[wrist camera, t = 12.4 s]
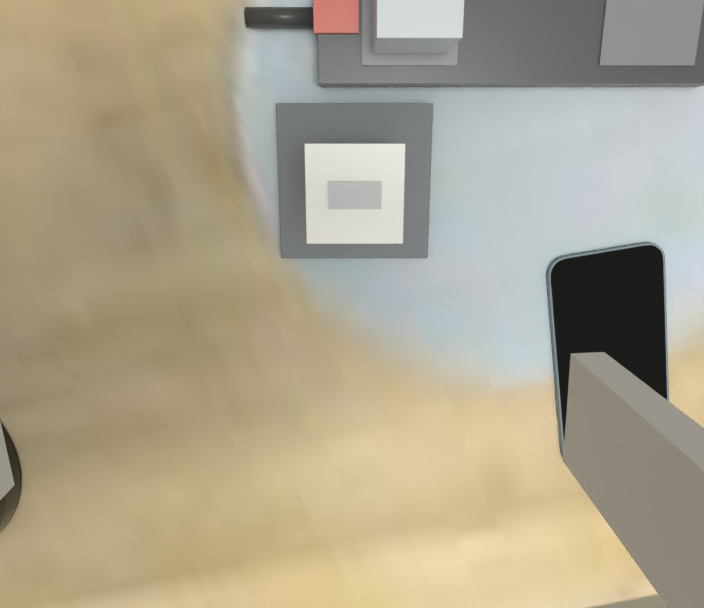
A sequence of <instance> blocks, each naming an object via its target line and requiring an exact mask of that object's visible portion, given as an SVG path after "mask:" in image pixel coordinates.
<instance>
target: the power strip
mask: <svg viewBox="0 0 704 608" xmlns="http://www.w3.org/2000/svg"><path fill="white" fill-rule="evenodd" d="M244 14H245V24H246V27H247V28H314V34H318V75H319V85H320V87H697V86H703V85H704V0H464V17H463V38H462V39H461V40H460V41H459V42H458V43H457V44H456V45H455V46H454V47H453V48H452V49H451V50H450V51H449V52H448V53H373V14H374V0H313V7H245V11H244Z"/></svg>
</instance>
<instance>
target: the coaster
mask: <svg viewBox="0 0 704 608" xmlns="http://www.w3.org/2000/svg"><path fill="white" fill-rule="evenodd" d="M276 117H277V146H278V176H279V205H280V234H281V258H427V256H428V228H429V201H430V174H431V146H432V119H433V104H276ZM305 144H405V177H404V218H403V244H307V233H306V187H305Z"/></svg>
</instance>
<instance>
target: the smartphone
mask: <svg viewBox="0 0 704 608" xmlns="http://www.w3.org/2000/svg"><path fill="white" fill-rule="evenodd" d="M546 280H547V293H548V305H549V318H550V330H551V343H552V355H553V368H554V380H555V392H556V393H555V398H556V410H557V417H558V430H559V442H560V451H561V455H562V457H563V454H564V440H565V426H566V412H567V399H568V385H569V371H570V357H571V353H593V352H605V353H606V354H607V355H609V356H610V357H611V358H613V359H614V360H615V361H617V362H618V363H619V364H620V365H622V366H623V367H624V368H626V369H627V370H628V371H630V372H631V373H632V374H634V375H635V376H636V377H637V378H639V379H640V380H641V381H643V382H644V383H645V384H647V385H648V386H649V387H650V388H652V389H653V390H654V391H656V392H657V393H658V394H660V395H661V396H662V397H664V398H665V399H666V400H667V401H669V385H668V348H667V312H666V276H665V255H664V252H663V250H662V249H661V248H660V247H659V246H658V245H656V244H653V243H649V242H642V243H635V244H631V245H624V246H617V247H611V248H609V249H604V250H593V251H587V252H581V253H575V254H570V255H564V256H560V257H558V258H556V259H554V260H553V261H552V262H551V263H550V264H549V266H548V268H547V272H546Z"/></svg>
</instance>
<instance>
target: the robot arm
mask: <svg viewBox="0 0 704 608" xmlns="http://www.w3.org/2000/svg"><path fill="white" fill-rule="evenodd" d="M563 462H564V463H565V464H566V466H567V467H568V469H569V470H570V471H571V473H572V474H573V476H574V477H575V478H576V480H577V481H578V483H579V484H580V485H581V487H582V488H583V490H584V491H585V492H586V494H587V495H588V497H589V498H590V499H591V501H592V502H593V504H594V505H595V506H596V508H597V509H598V511H599V512H600V513H601V515H602V516H603V517H604V519H605V520H606V522H607V523H608V524H609V526H610V527H611V529H612V530H613V531H614V533H615V534H616V536H617V537H618V538H619V540H620V541H621V543H622V544H623V545H624V547H625V548H626V550H627V551H628V552H629V554H630V555H631V557H632V558H633V559H634V561H635V562H636V563H637V565H638V566H639V568H640V569H641V570H642V572H643V573H644V575H645V576H646V577H647V579H648V580H649V582H650V583H651V584H652V586H653V587H654V589H655V590H656V591H657V593H658V594H659V596H660V597H661V598H662V600H663V601H664V602H665V604H666V605H667V607H668V608H704V428H703V427H701V426H700V425H699V424H697V423H696V422H695V421H694V420H692V419H691V418H690V417H688V416H687V415H686V414H684V413H683V412H682V411H680V410H679V409H678V408H677V407H675V406H674V405H673V404H671V403H670V402H669V401H667V400H666V399H665V398H664V397H662V396H661V395H660V394H658V393H657V392H656V391H654V390H653V389H652V388H650V387H649V386H648V385H647V384H645V383H644V382H643V381H641V380H640V379H639V378H637V377H636V376H635V375H634V374H632V373H631V372H630V371H628V370H627V369H626V368H624V367H623V366H622V365H620V364H619V363H618V362H617V361H615V360H614V359H613V358H611V357H610V356H609V355H607V354H606V353H605V352H593V353H571V357H570V371H569V385H568V399H567V412H566V426H565V440H564V454H563ZM20 487H21V477H20V468H19V463H18V459H17V456H16V453H15V450H14V448H13V445H12V443H11V441H10V439H9V437H8V435H7V434H6V432H5V430H4V429H3V427H2V426H1V422H0V532H1V531H2V530H3V529H4V528H5V527H6V525H7V524H8V522H9V521H10V519H11V518H12V516H13V514H14V512H15V509H16V507H17V504H18V500H19V495H20Z"/></svg>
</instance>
